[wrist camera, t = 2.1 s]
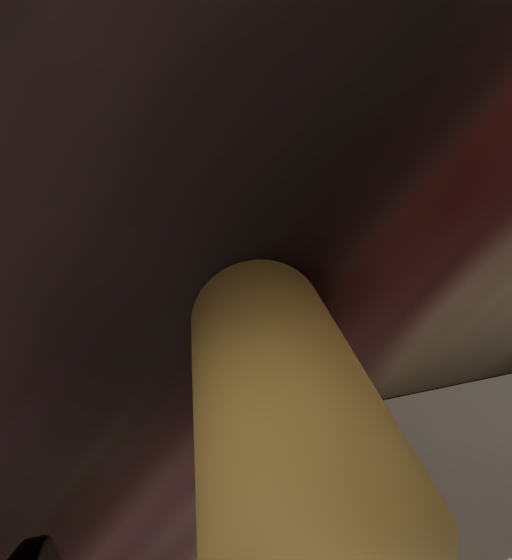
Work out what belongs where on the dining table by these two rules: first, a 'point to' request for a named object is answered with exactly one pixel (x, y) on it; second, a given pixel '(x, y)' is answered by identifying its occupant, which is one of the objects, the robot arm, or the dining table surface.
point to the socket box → (467, 458)
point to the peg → (298, 434)
